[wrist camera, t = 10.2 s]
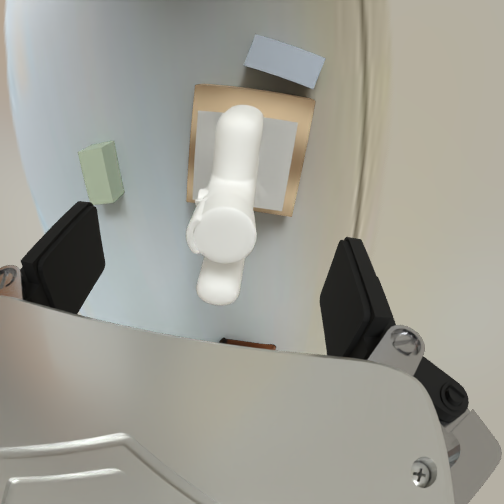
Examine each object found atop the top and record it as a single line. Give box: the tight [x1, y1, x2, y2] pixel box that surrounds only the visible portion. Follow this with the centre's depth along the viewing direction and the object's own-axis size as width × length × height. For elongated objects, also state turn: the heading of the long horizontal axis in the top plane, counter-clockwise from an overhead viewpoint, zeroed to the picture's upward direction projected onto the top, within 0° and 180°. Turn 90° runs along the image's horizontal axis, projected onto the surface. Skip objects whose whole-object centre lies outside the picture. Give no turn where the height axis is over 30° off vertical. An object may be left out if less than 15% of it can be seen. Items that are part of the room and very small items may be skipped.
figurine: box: [186, 105, 298, 305], centre depth 19 cm, size 7×9×15 cm
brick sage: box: [78, 141, 124, 205], centre depth 29 cm, size 6×3×3 cm, turn 3°
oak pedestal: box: [186, 84, 315, 217], centre depth 27 cm, size 11×10×3 cm
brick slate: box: [244, 34, 326, 89], centre depth 22 cm, size 6×3×3 cm, turn 72°
